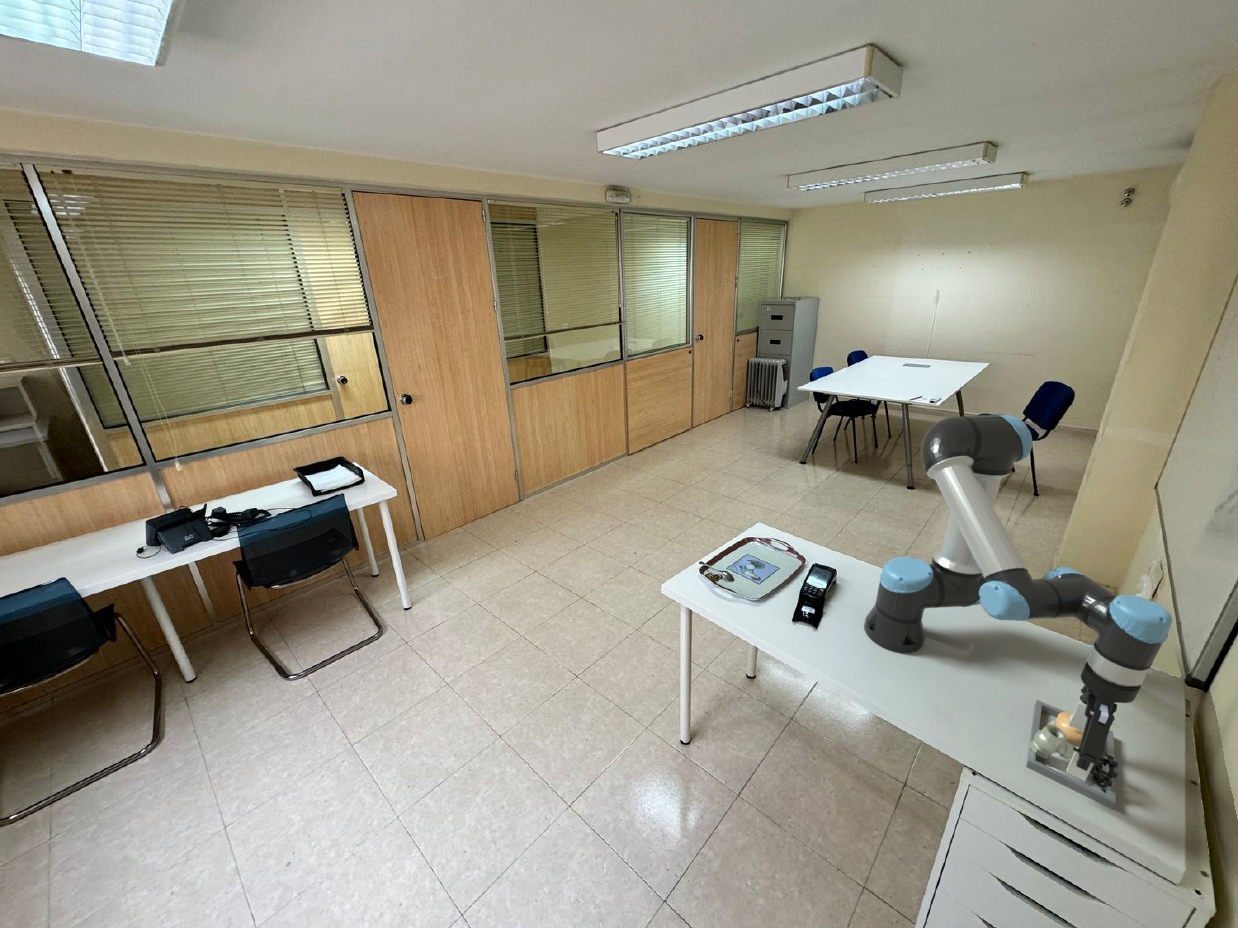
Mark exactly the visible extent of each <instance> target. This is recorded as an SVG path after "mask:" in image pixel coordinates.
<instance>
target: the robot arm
mask: <svg viewBox="0 0 1238 928" xmlns="http://www.w3.org/2000/svg"><path fill="white" fill-rule="evenodd" d="M1032 447H1033V437H1032V434H1031V431H1030V429H1029V428H1028V426H1027V424H1026V423H1025V422H1024V421H1023V420H1022V419H1020V418H1019V417H1017V416H1014V415H1010V414H996V413H991V414H983V415H965V416H949V417H946V418H943V419H940V420H938V421H937V422H935V423H934V424H933V425H931V426H930V427H929V429H927V431H925V434H924V435H923V438H922V441H921V445H920V459H921V463H922V467H923V469H924V470H925V473H926V475H927V476H928V478H930V479H931V480H935V482H936V484H937V486H938V488H939V490H940V493H941V494H942V497H943V498H944V500H945V503H946V505H947V506H948V509H949V511H950V512H949V515H948V520H947V525H946V528H945V533H944V537H943V541H942V545H941V549H940V550H937V551H935V552H933V556H932V559H931V563H930V564H928V563H927V562H925V561H923V560H921V559H919V558H912V556H911V557H910V556H899V557H894V558H891V559H890V560H888V561H886V562H885V563H884V566H883V567H882V570H881V573H880V575H879V582H878V583H879V584H878V590H877V594H876V599H875V604H874V605H873V607H872V608H871V610H870V611H869V612H868V614H866V616H865V619H864V623H863V625H864V626H863V629H864V632H865V633H866V635H867V637H868V638H869V639H871V641H873V642H874V643H875V644H877V645H878V646H880V647H881V648H884V649H885V650H888V651H892V652H895V653H901V654H912V653H915V652H918V651H920V650H921V649H922V648H923V646H924V643H925V639H926V637H925V629H924V624H923V616H924V611H925V610H926V609H935V608H939V609H940V608H954V607H955V608H956V607H960V608H961V607H962V608H966V607H971V606H977V605H980V606H981V607H982V609H983V610H984V612H986V614H988V616H990V617H991V618H992V619H996V620H999V621H1015V622H1016V621H1017V622H1018V621H1020V622H1022V621H1023V622H1025V621H1028V620H1040V619H1063V618H1075V619H1078V620H1079V621H1080V622H1081V623H1083V624H1084V625H1086V626H1087V627H1088V628H1090V629H1091V630H1093V631H1095V632H1096V633H1097V637H1096V639H1095V641H1094V642H1093V644H1092V647H1091V649H1090V652H1089V655H1087V659H1086V662H1085V665H1084V666H1083V668H1082V671H1081V673H1080V680H1081V682H1082V683H1083V686H1082V688H1081V689H1080V693H1081V695H1080V696H1079V700H1080V701H1078V703H1077V705H1076V707H1075V710H1074V712H1073V716H1072V718H1071V720H1070V723H1069V726H1071V727H1074V728H1076V729H1078V730H1080V731H1083V735H1082V739H1081V743H1080V747H1077V748H1075V747H1073V750H1074V751H1075V753H1074V755H1073V757H1072V759H1071V761H1070V763H1069V765H1068V768H1067V770H1066V772H1067V773H1069V774H1071V775H1073V776H1075V777H1077V778H1079V779H1081V780H1083V781H1085V780H1086V778H1087V776H1088V774H1089V772H1090V770H1091V768H1092V766H1093V764H1095V765H1098V764H1099V763H1100V761H1099V760H1100V757H1101V756H1102V754H1103V751H1104V745H1105V742H1106V739H1107V736H1108V733H1109V730H1110V729H1111V727H1112V725H1113V722H1114V721H1115V719H1116V718H1115V715H1114V713H1116V712H1117V709H1118V704H1120V703H1121V704H1128V703H1132V702H1133V701H1135V699H1136V698H1137V696H1138V693H1139V691H1140V690H1141V688H1142V687H1141V686H1142V684H1143V683H1144V681H1145V678H1146V675H1147V674H1148V675H1153V674H1154V671H1153V669H1151V667H1152V665H1153V662H1154V660H1155V658H1156V657H1157V655H1158V654H1159V651H1160V650H1161V647H1162V645H1163V644H1164V643H1165V642H1166V641H1167V639H1168V637H1169V631H1170V629H1171V627H1172V623H1173V616H1172V615H1171V613H1170V612H1169V610H1168V609H1166V608H1165V607H1163V606H1162V605H1161V604H1159V603H1157V602H1155V601H1150V600H1148V599H1147V598H1144V597H1142V596H1138V595H1134V594H1132V595H1131V594H1121V595H1116V594H1115V593H1113V592H1112V591H1110V590H1108V589H1107V588H1105V587H1103V586H1102V585H1100V584H1099V583H1097V582H1096V581H1094V580H1093V579H1092V578H1091V577H1089V576H1087V575H1085V574H1083V573H1081V572H1079V571H1077V570H1075V569H1074V568H1072V567H1066V566H1059V567H1056V568H1055V569H1054V570H1049V571H1047V572H1046V573H1044V575H1043V576H1042V578H1039V579H1036V578H1035V579H1034V578H1032V575H1031V574H1030V572H1029V570H1028V569H1027V567H1026V565H1025V564H1024V561H1023V560H1022V558H1021V556H1020V554H1019V552H1018V551H1017V549H1016V547H1015V545H1014V543H1013V542H1012V540H1011V537H1010V536H1009V534H1008V532H1007V531H1006V529H1005V527H1004V524H1003V522H1002V521H1001V519H1000V518H999V516H998V515H999V514H998V513H997V512H996V510H995V508H994V507H995V503H996V499H997V495H998V491H999V489H1000V486H1001V485H1000V484H1001V481H1002V479H1003V478H1005V477H1007V476H1010V475H1011V474H1012V471H1013V467H1014V463H1017V462H1018V463H1019V462H1021V461H1023V460H1024V459H1026V458H1028V456H1029V455H1030V454H1031V451H1032ZM1116 703H1117V704H1116ZM1110 731H1111V730H1110Z"/></svg>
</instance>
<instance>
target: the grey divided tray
mask: <svg viewBox="0 0 1238 928" xmlns="http://www.w3.org/2000/svg"><path fill="white" fill-rule="evenodd" d="M1042 712H1043V714H1044V713H1045V714H1047V715H1049V716H1051V717H1054V718H1056V719H1057V717H1058V714H1059V713H1061V712H1066V711H1065V710H1063V709H1060V708H1058V707H1055V706H1053V705H1050V704H1049V703H1046V702H1043V701H1041V700H1038V699H1037V700H1036V701H1035V703H1034V707H1033V714H1032V721H1031V728H1030V736H1029V742H1028V744H1029V743H1030V742H1031V741H1032V740H1034V735H1035V734H1036V732H1038V731H1039V730H1040V723H1041V716H1042ZM1055 721H1056V720H1050V721H1049V722H1048V723H1046V726H1047V725H1048V724H1051V725H1054V724H1055ZM1114 738H1115V737H1114V731H1112V730H1109V733H1108V736H1107V739H1106V742H1105V745H1104V748H1103V751H1104V754H1103V755H1104V756H1103V757H1104V758H1106V759H1107V757H1106V756H1105V754H1109V755H1111V756H1113V757H1114V758H1115V745H1114V744H1115V743H1114V740H1115V739H1114ZM1063 743H1067V744H1069V745H1071V746H1072V747H1075V748H1077V746H1075V745H1072V744H1070V743H1068V742H1066V741H1064V742H1063ZM1026 757H1027V758H1026V764H1025V765H1026V766H1025V768H1027V769H1029V770H1032V771H1034V772H1036V773H1038V774H1040V775H1041V776H1044V777H1045V778H1048V779H1050V780H1052V781H1054V782H1056V783H1058V784H1060V785H1061V786H1064V787H1066V788H1067V789H1070V790H1072V791H1074V792H1076V793H1078V794H1081V795H1082V796H1084V797H1086V798H1089V799H1090V800H1092V801H1094V802H1096V803H1098V804H1100V805H1102V806H1104V807H1107V808H1109V809H1110V810H1113V809H1114V808H1115V806H1116V804H1117V803H1116V801H1117V800H1116V778H1114V777H1112V779H1111V781H1112V786H1111V787H1109V786H1107V785H1106V786H1105V788H1104V792H1101V791H1099V790H1097V789H1096V788H1093V787H1092V786H1094V784H1095V780H1093V778H1092V776H1093V774H1092V773H1091V771H1090V772H1089V774H1088V776H1087V778H1086V780H1085V781H1083V780H1081V779H1079V778H1077V777H1075V776H1073V775H1071V774H1069V773H1067V772H1066V770H1067V768H1068V765H1069V763H1070V761H1071V758H1070V759H1065V758H1063V757H1061V756H1060V754H1059V753H1053V754H1052V755H1051V756H1049V757H1048V758H1047V759H1044V758H1043V761H1044V763H1041V762H1039V761H1037V759H1036V757H1037V755H1036V754H1035V753H1034V752H1033V751H1032V750H1031V748H1030V746H1029V745H1028V751H1027V756H1026ZM1100 763H1101V761H1100ZM1106 767H1107V768H1109V765H1108V764H1107V765H1106ZM1115 770H1116V769H1114V771H1115ZM1115 772H1116V771H1115ZM1105 777H1106V776H1105V775H1104V778H1105Z"/></svg>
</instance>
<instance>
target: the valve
mask: <svg viewBox="0 0 1238 928" xmlns="http://www.w3.org/2000/svg"><path fill="white" fill-rule="evenodd" d="M1047 724H1048V723H1047ZM1047 724H1046V725H1045V726H1044V727H1043V728H1042V729H1039V731H1038V732H1036V734H1035V735H1034V740H1032V741H1031V742H1030V741H1029V742H1030V743H1029V742H1028V747H1029V746H1030V748H1031V750H1032V751H1033V752H1034V753H1035V754H1036V756H1037V757H1039V758H1042V759H1043V760H1044V759H1047V758H1048V757H1049V756H1051V755H1052V754H1053V753H1059V754H1060V756H1061V757H1063V758H1065V759H1070V758H1071V759H1072V757H1073V755H1074V753H1075V751H1074V750H1073V747H1072V746H1071V745H1069V744H1067V743H1063V742H1064V741H1065V740H1066V739H1067V737H1066V735H1065V734H1064V732H1063V731H1062V730H1061V729H1059V728H1058V727H1056V726H1054V725H1051V724H1048V725H1047ZM1105 756H1106V757H1107V759H1106V758H1104V756H1102V755H1101V757H1100V760H1099V761H1101V763H1099V764H1098V765H1095V764H1093V766H1092V768H1091V770H1090V771H1091V773H1092V774H1093V776H1092V778H1093V780H1095V781H1096V783H1095V785H1096V786H1097V787H1099V788H1101V789H1105V786H1106V785H1107V786H1109V787H1111V786H1112V781H1111V779H1112V777H1114V778H1115V779H1117V777H1118V772H1116V771H1114V769H1115V768H1118V767H1119V762H1118V761H1116V760H1115V756H1114V757H1113V756H1111V755H1109V754H1105ZM1107 764H1108V765H1109V768H1107V767H1106V765H1107ZM1115 770H1116V769H1115ZM1103 776H1104V778H1103ZM1105 776H1106V777H1105Z"/></svg>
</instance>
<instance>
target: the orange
mask: <svg viewBox="0 0 1238 928" xmlns="http://www.w3.org/2000/svg"><path fill="white" fill-rule="evenodd" d="M1073 714H1074V712H1069V711H1065V712H1061V713H1059V714H1058V717H1057V718H1056V719H1055V720H1054V721H1055V724H1054V726H1056V727H1058V728H1059V729H1061V730H1062V731H1063V732H1064V734H1065V735H1066V737H1067V739H1066V740H1065V741H1066V742H1068V743H1070V744H1072V745H1075V746H1077V747H1080V743H1081V739H1082V735H1083V731H1080V730H1078V729H1076V728H1074V727H1071V726H1069V723H1070V720H1071V718H1072V716H1073Z"/></svg>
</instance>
